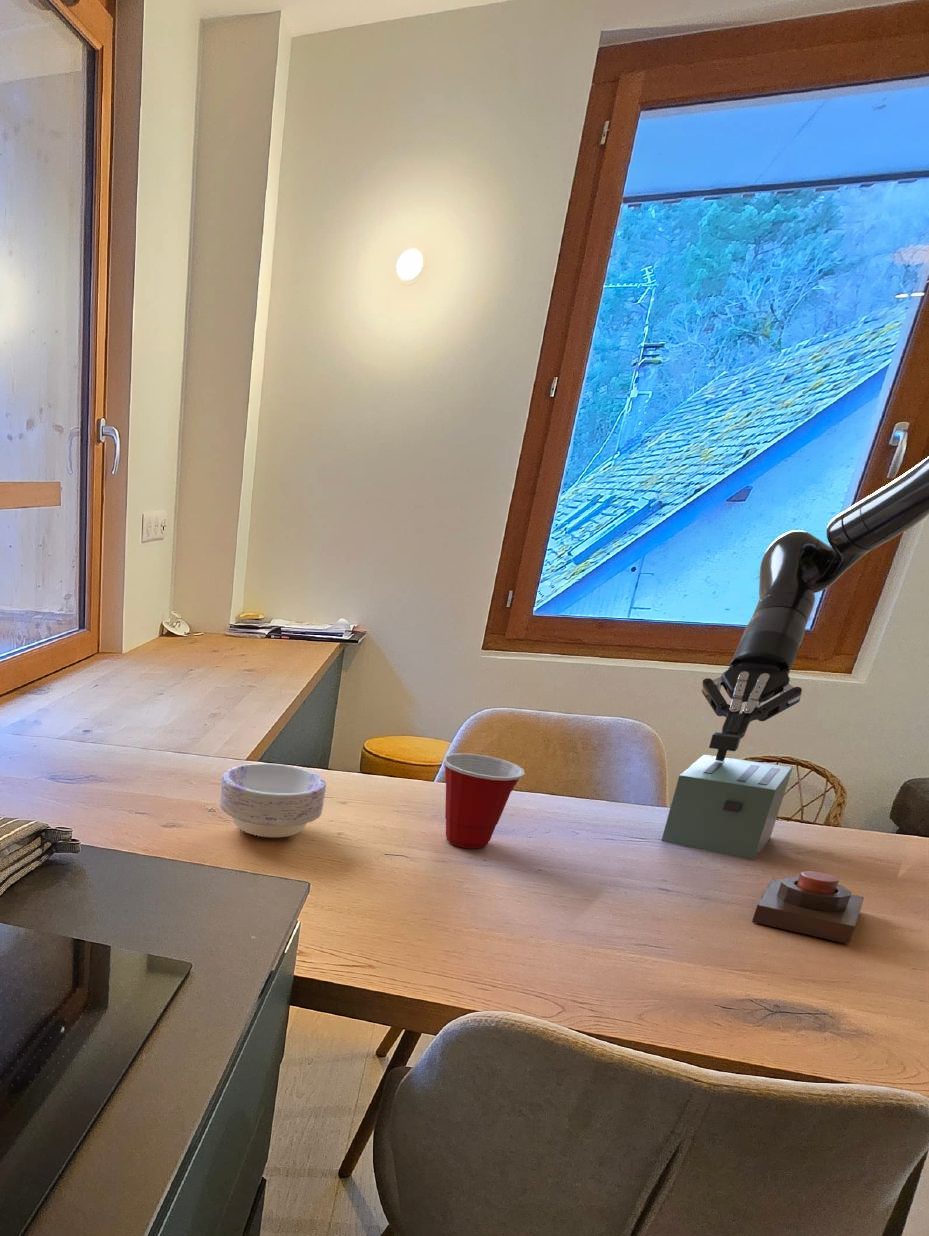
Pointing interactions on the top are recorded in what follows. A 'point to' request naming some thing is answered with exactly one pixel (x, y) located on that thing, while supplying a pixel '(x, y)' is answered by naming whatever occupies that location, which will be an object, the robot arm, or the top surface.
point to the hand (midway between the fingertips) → (731, 737)
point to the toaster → (726, 806)
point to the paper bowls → (271, 798)
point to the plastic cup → (476, 796)
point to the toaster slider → (724, 744)
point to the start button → (818, 882)
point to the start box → (809, 910)
